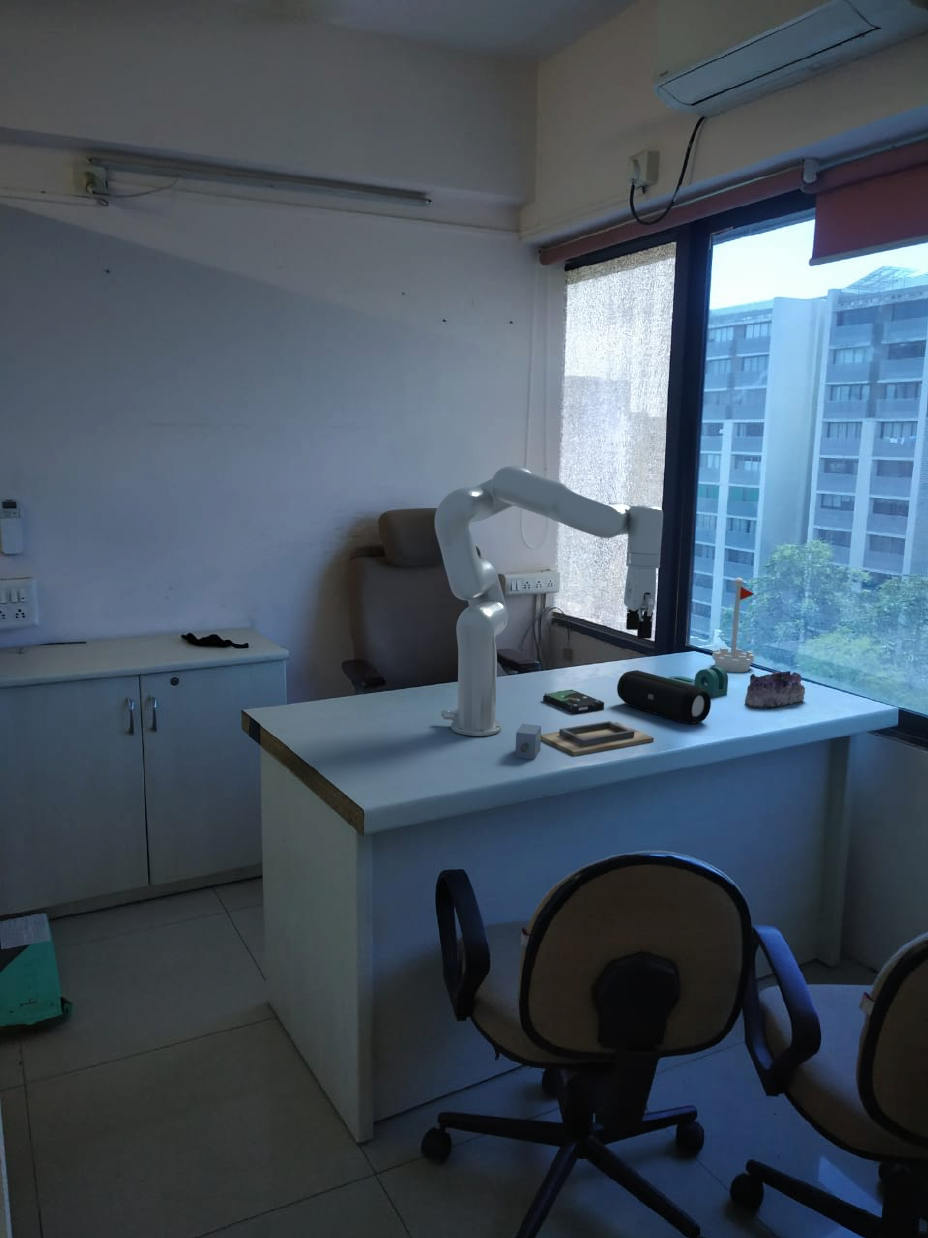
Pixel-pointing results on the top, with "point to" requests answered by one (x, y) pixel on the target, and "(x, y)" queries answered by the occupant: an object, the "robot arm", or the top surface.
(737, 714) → the top surface
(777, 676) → the geode
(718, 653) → the flag stand
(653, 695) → the portable speaker
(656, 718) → the top surface
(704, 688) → the bracket
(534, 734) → the connector plug
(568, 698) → the disk drive
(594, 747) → the end holder
